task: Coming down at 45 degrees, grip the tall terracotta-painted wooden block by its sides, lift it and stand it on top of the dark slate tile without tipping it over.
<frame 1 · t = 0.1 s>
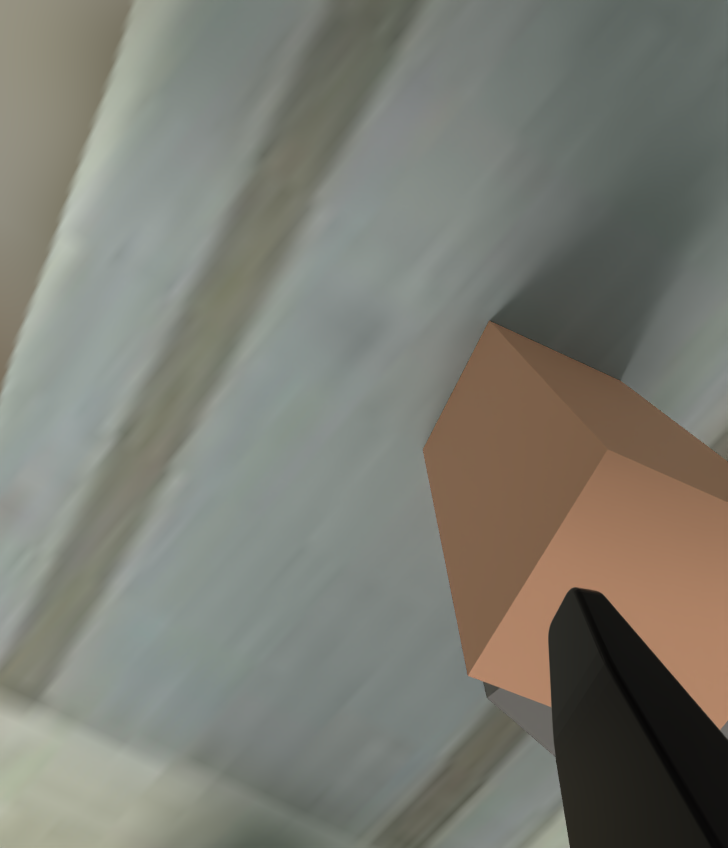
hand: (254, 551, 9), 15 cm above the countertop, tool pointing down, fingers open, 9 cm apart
tall block: (519, 415, 25), on the countertop
plinth: (639, 648, 28), on the countertop
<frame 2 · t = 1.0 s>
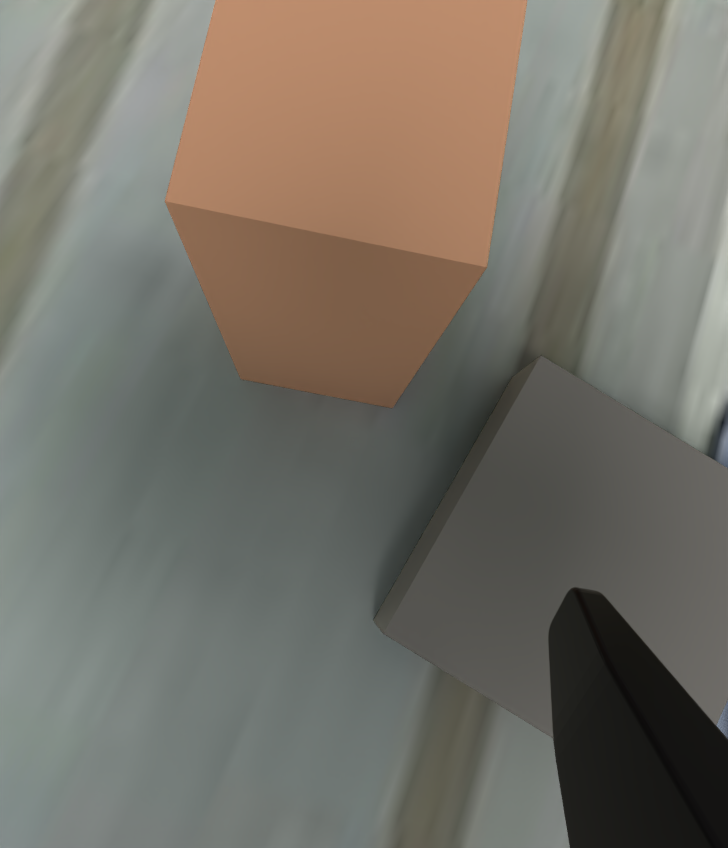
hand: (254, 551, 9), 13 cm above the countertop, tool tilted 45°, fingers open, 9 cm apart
tall block: (331, 321, 24), on the countertop
plinth: (566, 568, 23), on the countertop
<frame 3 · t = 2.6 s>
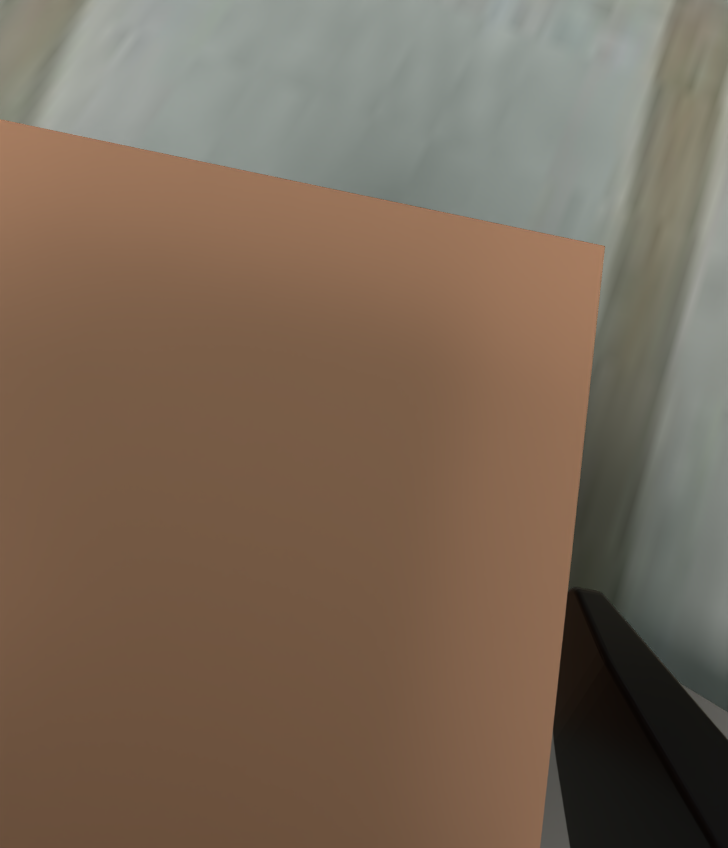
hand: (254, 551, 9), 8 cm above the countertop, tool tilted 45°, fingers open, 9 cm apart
tall block: (281, 533, 17), on the countertop
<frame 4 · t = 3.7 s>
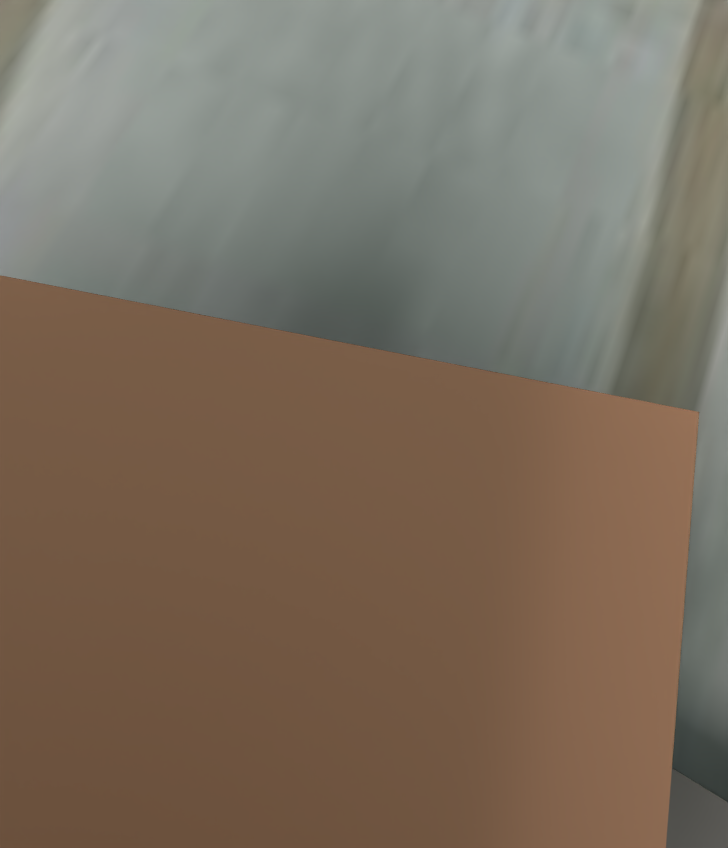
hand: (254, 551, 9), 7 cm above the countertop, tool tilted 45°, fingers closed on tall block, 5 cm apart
tall block: (264, 606, 15), on the countertop, touching gripper
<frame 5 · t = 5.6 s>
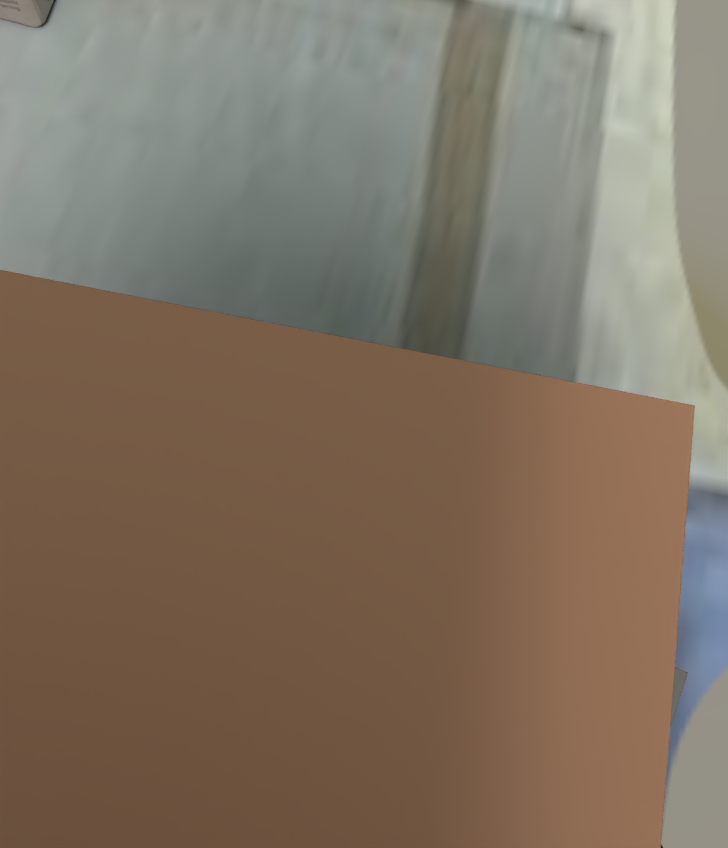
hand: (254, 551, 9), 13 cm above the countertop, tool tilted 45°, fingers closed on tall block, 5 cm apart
tall block: (263, 605, 15), point 6 cm above the countertop, touching gripper
plinth: (447, 740, 21), on the countertop
when the fingers open (10 cm above the countertop, at t = 7.6 s): tall block stays where it is, resting on plinth.
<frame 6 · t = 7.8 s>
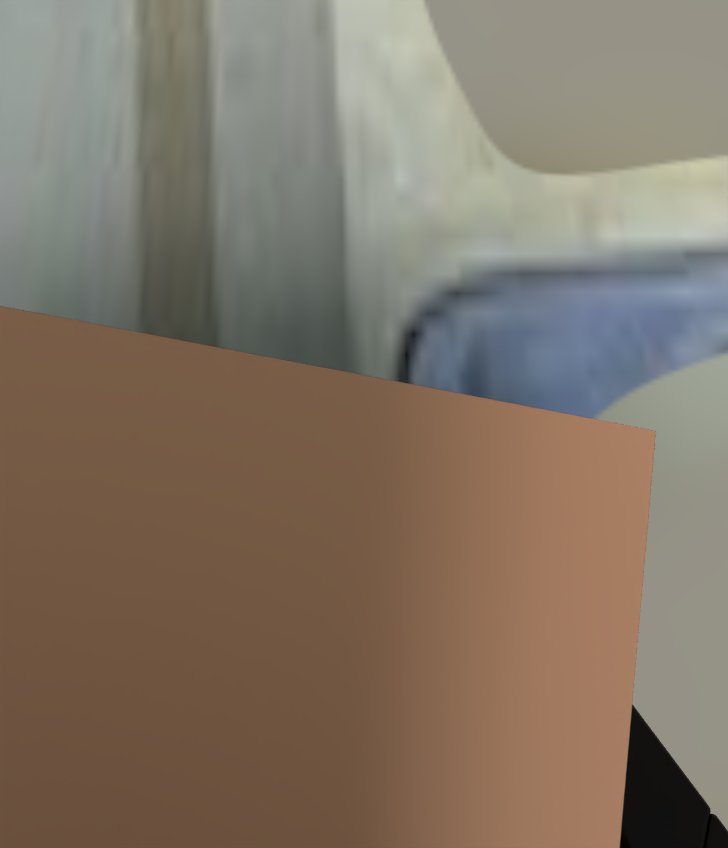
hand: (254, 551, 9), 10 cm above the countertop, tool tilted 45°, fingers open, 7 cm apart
tall block: (264, 605, 16), point 3 cm above the countertop, touching plinth
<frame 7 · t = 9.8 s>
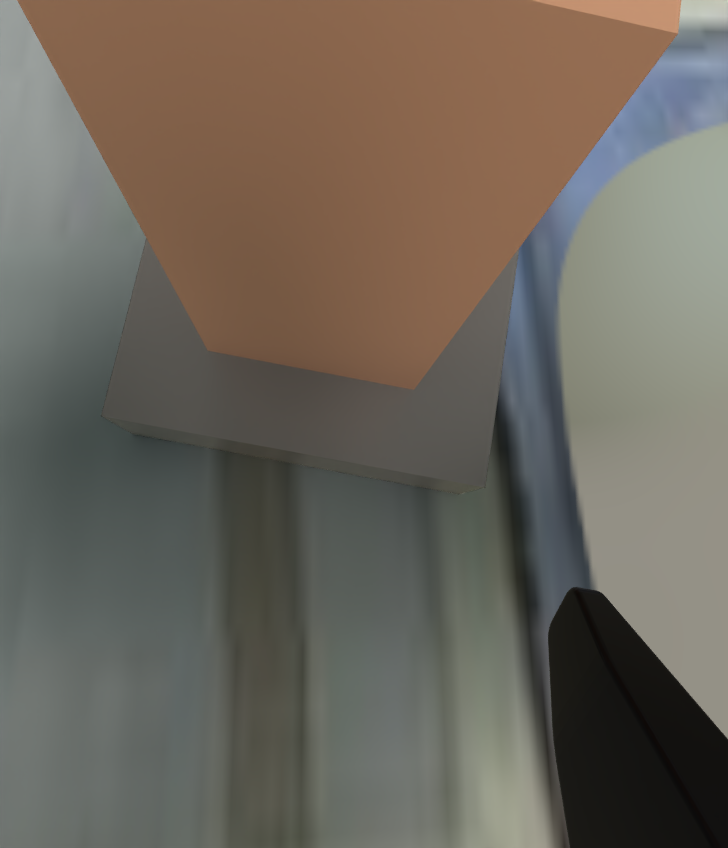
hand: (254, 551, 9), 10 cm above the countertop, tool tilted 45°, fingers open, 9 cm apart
tall block: (330, 273, 18), point 3 cm above the countertop, touching plinth
plinth: (328, 309, 21), on the countertop
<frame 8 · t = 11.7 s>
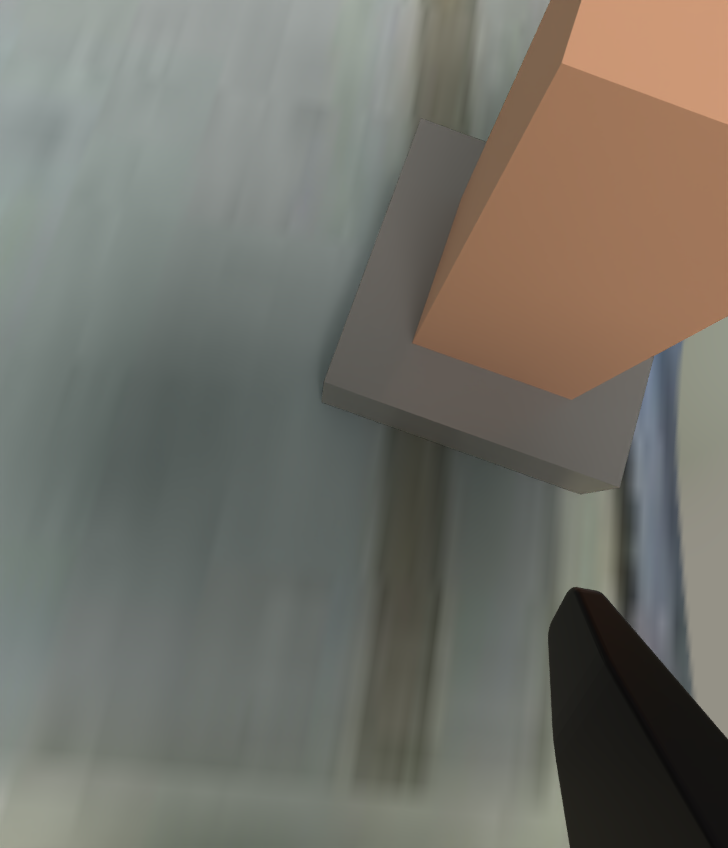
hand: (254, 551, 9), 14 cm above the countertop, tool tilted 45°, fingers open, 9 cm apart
tall block: (515, 296, 22), point 3 cm above the countertop, touching plinth
plinth: (491, 324, 25), on the countertop
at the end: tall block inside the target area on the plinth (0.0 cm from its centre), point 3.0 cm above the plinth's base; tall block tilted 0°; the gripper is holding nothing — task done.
